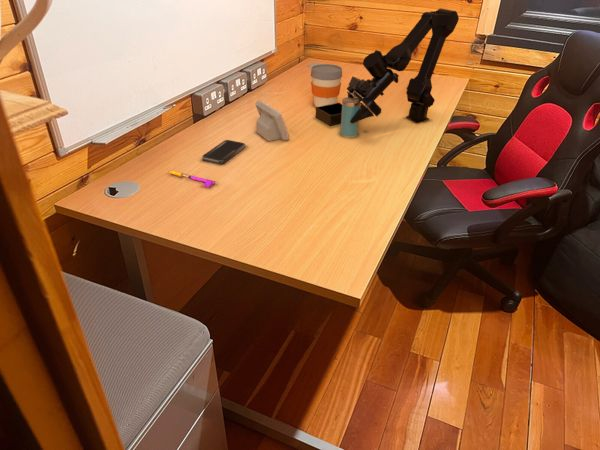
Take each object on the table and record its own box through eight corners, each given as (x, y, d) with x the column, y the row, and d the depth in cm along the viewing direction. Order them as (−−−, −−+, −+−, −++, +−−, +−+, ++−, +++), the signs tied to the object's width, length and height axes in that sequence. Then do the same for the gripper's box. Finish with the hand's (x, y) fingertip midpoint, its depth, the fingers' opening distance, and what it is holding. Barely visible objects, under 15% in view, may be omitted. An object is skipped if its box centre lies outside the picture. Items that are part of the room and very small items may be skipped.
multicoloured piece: (216, 183, 136) (171, 172, 141) (215, 180, 135) (170, 169, 140) (211, 189, 134) (166, 177, 140) (210, 186, 133) (165, 174, 139)
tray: (338, 113, 184) (339, 102, 182) (353, 122, 177) (354, 110, 174) (315, 118, 179) (315, 107, 177) (330, 127, 172) (330, 115, 170)
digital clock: (290, 142, 161) (290, 112, 155) (265, 145, 158) (264, 115, 152) (276, 124, 174) (276, 96, 168) (253, 127, 171) (251, 99, 165)
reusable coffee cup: (305, 108, 189) (306, 70, 180) (316, 98, 198) (317, 62, 190) (334, 112, 185) (336, 74, 177) (344, 102, 195) (346, 66, 186)
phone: (200, 156, 148) (226, 139, 159) (201, 160, 148) (226, 142, 160) (222, 161, 145) (246, 143, 156) (222, 164, 146) (246, 146, 157)
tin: (350, 129, 171) (353, 96, 164) (361, 135, 166) (364, 101, 159) (336, 132, 168) (338, 98, 161) (346, 139, 164) (349, 104, 157)
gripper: (353, 61, 163) (322, 94, 166) (376, 76, 148) (341, 113, 152) (372, 82, 169) (342, 114, 173) (395, 98, 154) (362, 133, 158)
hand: (346, 118), depth 163 cm, fingers open, 8 cm apart
